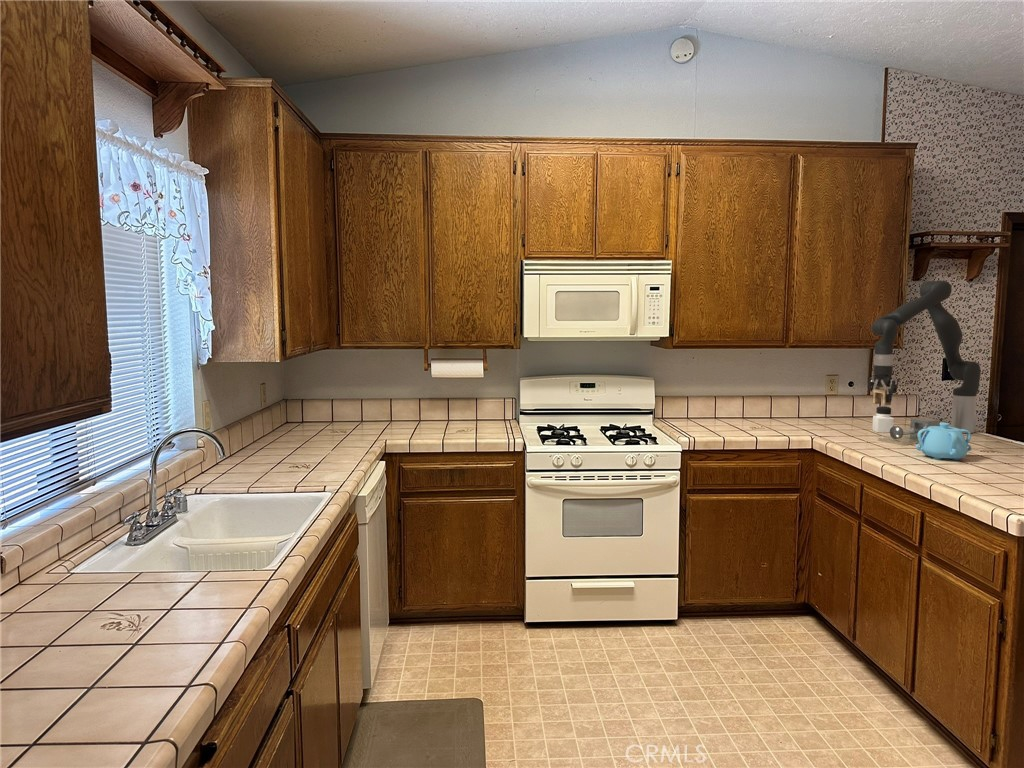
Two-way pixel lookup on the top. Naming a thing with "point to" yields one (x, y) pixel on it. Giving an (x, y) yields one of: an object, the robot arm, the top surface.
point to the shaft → (902, 431)
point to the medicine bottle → (883, 420)
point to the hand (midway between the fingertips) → (881, 401)
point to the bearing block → (913, 437)
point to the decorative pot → (944, 442)
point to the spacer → (879, 397)
